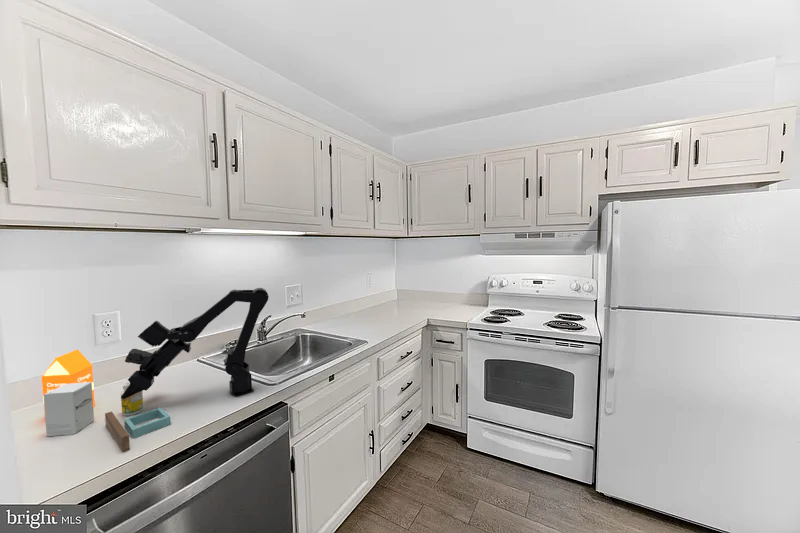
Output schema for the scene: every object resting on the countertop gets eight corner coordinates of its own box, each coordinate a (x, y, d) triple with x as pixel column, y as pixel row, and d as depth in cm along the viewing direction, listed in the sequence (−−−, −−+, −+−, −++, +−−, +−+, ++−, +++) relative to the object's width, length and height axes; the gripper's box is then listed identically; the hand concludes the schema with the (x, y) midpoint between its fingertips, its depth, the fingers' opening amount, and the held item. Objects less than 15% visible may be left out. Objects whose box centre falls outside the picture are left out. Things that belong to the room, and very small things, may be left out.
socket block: (161, 414, 102) (160, 407, 102) (170, 424, 96) (170, 416, 96) (124, 427, 95) (124, 419, 95) (132, 438, 89) (132, 430, 89)
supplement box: (75, 434, 91) (72, 392, 91) (45, 437, 90) (41, 394, 89) (95, 420, 99) (92, 381, 98) (67, 422, 97) (64, 383, 97)
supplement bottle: (146, 410, 105) (144, 381, 104) (126, 417, 100) (124, 388, 100) (138, 406, 107) (137, 378, 107) (119, 413, 103) (117, 384, 102)
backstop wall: (112, 423, 97) (111, 411, 96) (129, 449, 84) (128, 435, 84) (105, 426, 96) (105, 413, 95) (122, 452, 83) (121, 437, 83)
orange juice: (44, 422, 98) (39, 359, 96) (69, 408, 106) (64, 349, 105) (73, 420, 99) (69, 357, 98) (95, 406, 108) (91, 348, 106)
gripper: (151, 333, 112) (113, 369, 108) (134, 348, 96) (89, 391, 92) (179, 351, 116) (143, 386, 112) (168, 369, 100) (125, 411, 95)
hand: (126, 393), depth 103 cm, fingers open, 7 cm apart
